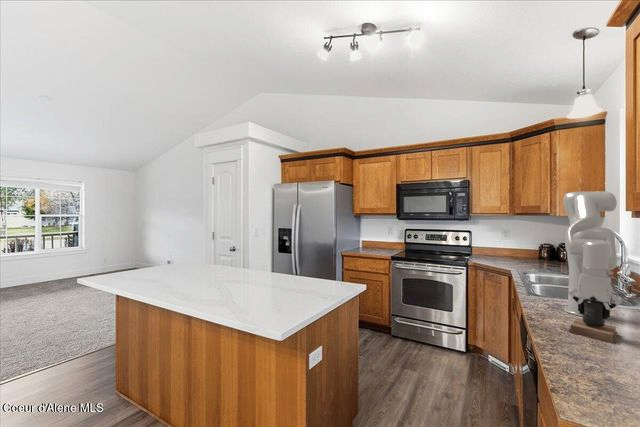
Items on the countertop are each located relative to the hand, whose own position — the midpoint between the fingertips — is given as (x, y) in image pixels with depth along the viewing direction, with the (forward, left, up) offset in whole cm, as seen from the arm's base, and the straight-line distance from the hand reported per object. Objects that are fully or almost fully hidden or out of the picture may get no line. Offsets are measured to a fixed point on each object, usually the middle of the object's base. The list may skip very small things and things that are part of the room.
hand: (593, 315), depth 121 cm
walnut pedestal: (0, 0, -7) cm, 7 cm away
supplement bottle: (0, 0, -3) cm, 3 cm away
